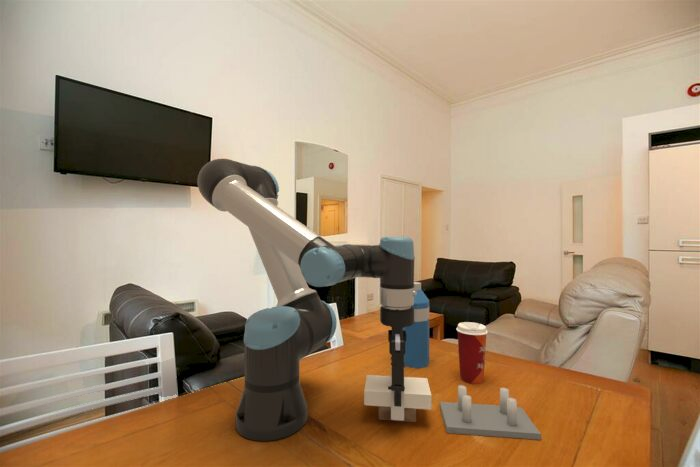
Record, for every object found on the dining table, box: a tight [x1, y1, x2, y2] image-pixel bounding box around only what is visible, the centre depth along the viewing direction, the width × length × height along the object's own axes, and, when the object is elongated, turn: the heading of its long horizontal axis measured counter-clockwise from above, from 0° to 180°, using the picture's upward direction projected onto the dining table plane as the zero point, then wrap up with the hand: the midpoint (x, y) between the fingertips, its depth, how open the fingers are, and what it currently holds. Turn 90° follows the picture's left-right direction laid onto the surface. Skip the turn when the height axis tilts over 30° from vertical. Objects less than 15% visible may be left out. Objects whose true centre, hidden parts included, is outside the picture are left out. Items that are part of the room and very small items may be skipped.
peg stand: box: [439, 384, 542, 441], centre depth 70 cm, size 18×10×6 cm, turn 83°
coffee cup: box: [455, 321, 488, 385], centre depth 91 cm, size 8×8×15 cm
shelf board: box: [363, 374, 432, 411], centre depth 72 cm, size 14×8×3 cm, turn 83°
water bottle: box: [403, 281, 430, 369], centre depth 102 cm, size 9×9×25 cm
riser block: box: [378, 406, 417, 423], centre depth 72 cm, size 8×4×4 cm, turn 83°
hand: (397, 406), depth 72 cm, fingers open, 9 cm apart
